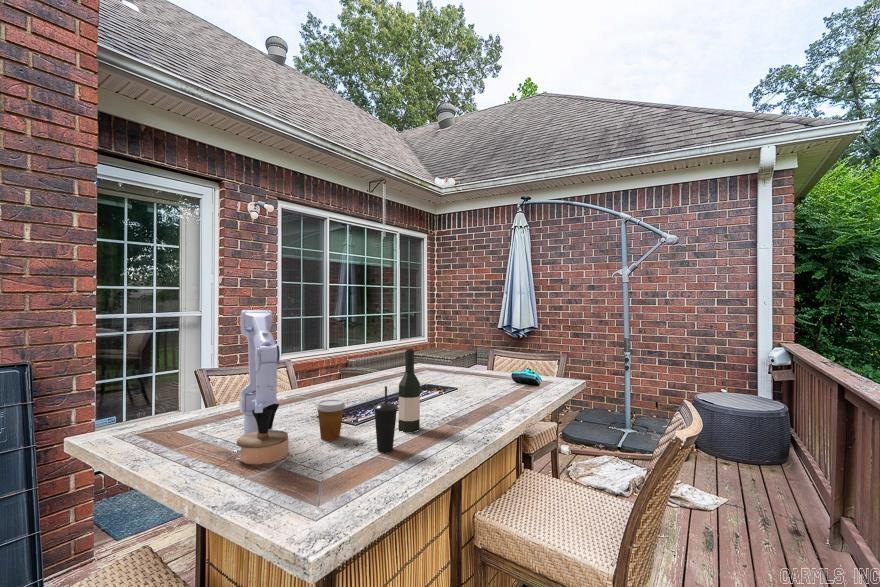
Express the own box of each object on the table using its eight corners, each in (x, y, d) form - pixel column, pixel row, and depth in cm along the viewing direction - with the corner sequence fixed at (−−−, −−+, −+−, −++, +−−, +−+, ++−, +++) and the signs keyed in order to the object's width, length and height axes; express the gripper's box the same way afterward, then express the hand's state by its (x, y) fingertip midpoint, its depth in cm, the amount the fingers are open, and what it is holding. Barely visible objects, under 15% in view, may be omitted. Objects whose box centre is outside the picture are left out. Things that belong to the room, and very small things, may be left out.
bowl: (257, 448, 125) (258, 432, 126) (295, 450, 124) (295, 434, 124) (231, 463, 113) (231, 446, 113) (273, 466, 111) (273, 448, 111)
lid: (254, 431, 126) (254, 416, 126) (296, 433, 125) (296, 418, 125) (225, 447, 112) (226, 429, 112) (272, 449, 111) (272, 432, 111)
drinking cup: (392, 455, 120) (393, 389, 121) (369, 453, 122) (370, 388, 122) (400, 446, 128) (401, 384, 128) (377, 445, 129) (378, 383, 130)
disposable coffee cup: (315, 443, 131) (316, 406, 131) (316, 434, 140) (317, 400, 140) (344, 440, 133) (345, 404, 134) (343, 432, 142) (344, 398, 143)
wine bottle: (394, 427, 148) (395, 347, 149) (415, 425, 152) (416, 346, 153) (402, 434, 141) (403, 349, 142) (423, 431, 144) (424, 348, 145)
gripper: (260, 381, 126) (259, 424, 125) (243, 390, 111) (242, 439, 111) (283, 380, 127) (282, 423, 126) (270, 390, 112) (268, 438, 112)
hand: (265, 431), depth 119 cm, fingers open, 4 cm apart
